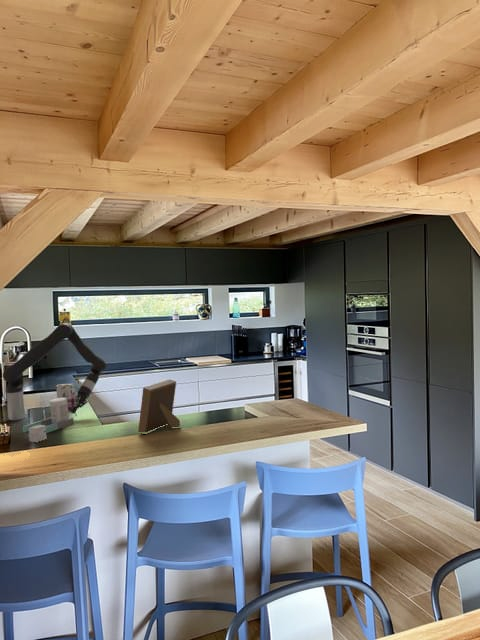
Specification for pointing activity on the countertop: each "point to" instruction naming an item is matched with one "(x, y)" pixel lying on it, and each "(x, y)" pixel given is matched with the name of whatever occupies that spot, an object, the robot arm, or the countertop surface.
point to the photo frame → (158, 406)
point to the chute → (50, 427)
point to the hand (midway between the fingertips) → (72, 412)
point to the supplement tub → (59, 410)
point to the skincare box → (37, 433)
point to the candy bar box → (66, 393)
